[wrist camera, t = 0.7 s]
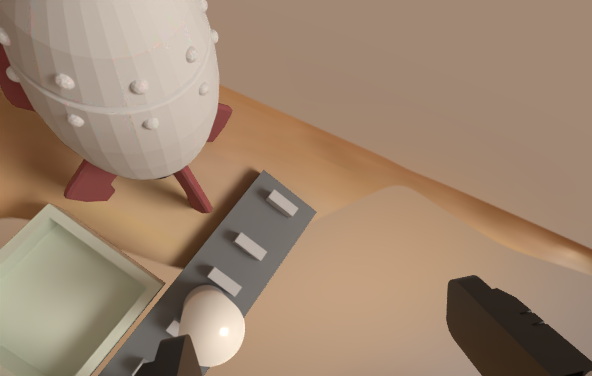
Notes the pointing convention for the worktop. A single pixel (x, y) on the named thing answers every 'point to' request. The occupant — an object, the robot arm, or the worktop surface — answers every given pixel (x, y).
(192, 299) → the cylinder
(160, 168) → the toy
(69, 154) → the worktop surface
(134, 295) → the tray
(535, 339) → the robot arm
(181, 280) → the holder
